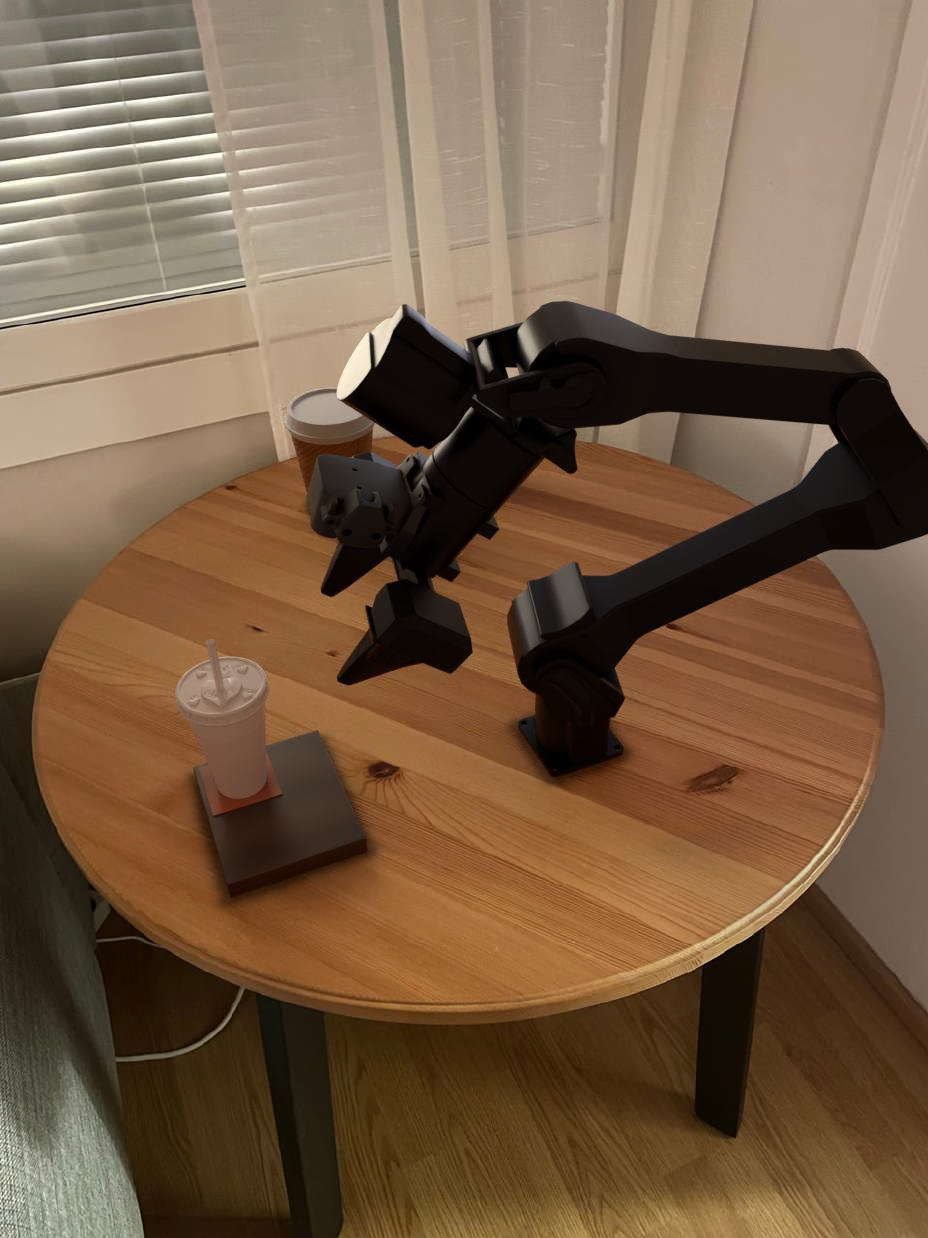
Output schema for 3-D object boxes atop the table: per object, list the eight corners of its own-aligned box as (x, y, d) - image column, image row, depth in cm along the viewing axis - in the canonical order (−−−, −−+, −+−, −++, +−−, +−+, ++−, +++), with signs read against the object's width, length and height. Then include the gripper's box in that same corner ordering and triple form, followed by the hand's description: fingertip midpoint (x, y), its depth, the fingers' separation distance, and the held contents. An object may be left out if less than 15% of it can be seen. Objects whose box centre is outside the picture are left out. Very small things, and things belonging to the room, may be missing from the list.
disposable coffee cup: (289, 492, 112) (275, 392, 105) (372, 478, 114) (364, 379, 107) (304, 536, 105) (290, 433, 97) (393, 520, 107) (386, 418, 100)
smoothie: (196, 818, 73) (157, 672, 64) (200, 755, 78) (165, 612, 69) (285, 806, 74) (258, 661, 65) (284, 745, 79) (259, 602, 70)
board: (367, 851, 72) (366, 837, 71) (230, 898, 69) (226, 883, 68) (319, 742, 81) (317, 728, 80) (196, 780, 78) (192, 765, 77)
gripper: (345, 348, 67) (226, 513, 74) (392, 516, 54) (242, 698, 61) (470, 423, 73) (350, 568, 80) (541, 589, 60) (389, 747, 67)
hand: (333, 636), depth 72 cm, fingers open, 9 cm apart
